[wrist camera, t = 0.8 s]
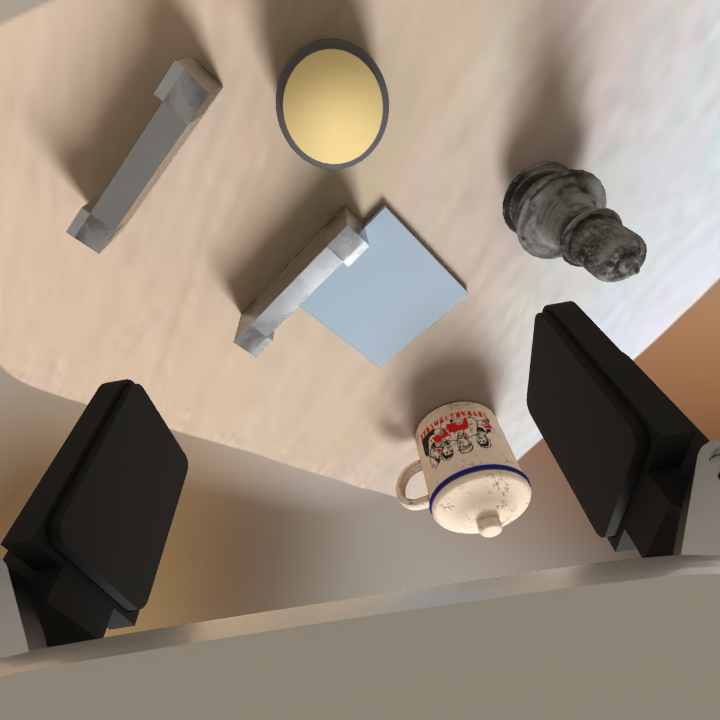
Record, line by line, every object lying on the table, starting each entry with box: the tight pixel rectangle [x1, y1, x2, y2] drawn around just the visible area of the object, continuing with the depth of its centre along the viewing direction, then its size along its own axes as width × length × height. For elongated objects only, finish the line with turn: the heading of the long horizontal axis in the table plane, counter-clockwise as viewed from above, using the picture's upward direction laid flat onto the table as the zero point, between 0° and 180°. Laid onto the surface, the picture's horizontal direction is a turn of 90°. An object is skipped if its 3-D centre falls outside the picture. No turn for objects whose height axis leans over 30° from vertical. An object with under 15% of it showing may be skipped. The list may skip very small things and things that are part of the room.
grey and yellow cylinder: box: [276, 39, 389, 169], centre depth 24 cm, size 6×6×5 cm
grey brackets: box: [66, 58, 370, 357], centre depth 28 cm, size 12×14×4 cm
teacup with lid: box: [396, 402, 531, 537], centre depth 41 cm, size 12×9×12 cm
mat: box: [299, 205, 469, 367], centre depth 34 cm, size 10×10×1 cm
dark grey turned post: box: [503, 162, 647, 282], centre depth 26 cm, size 6×6×12 cm
